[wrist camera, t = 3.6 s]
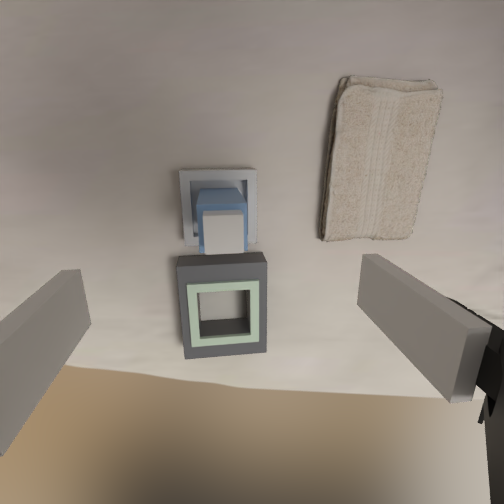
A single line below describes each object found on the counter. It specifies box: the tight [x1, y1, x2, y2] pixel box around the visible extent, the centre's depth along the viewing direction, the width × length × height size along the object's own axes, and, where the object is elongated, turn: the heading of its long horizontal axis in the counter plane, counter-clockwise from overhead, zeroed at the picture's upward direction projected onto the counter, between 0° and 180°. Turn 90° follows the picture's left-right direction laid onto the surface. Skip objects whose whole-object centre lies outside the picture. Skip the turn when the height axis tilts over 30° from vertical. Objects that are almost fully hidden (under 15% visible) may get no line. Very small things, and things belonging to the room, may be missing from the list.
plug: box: [196, 188, 248, 255], centre depth 29 cm, size 4×4×12 cm
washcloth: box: [319, 75, 443, 242], centre depth 35 cm, size 12×18×3 cm, turn 179°
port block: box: [176, 252, 267, 359], centre depth 38 cm, size 12×10×4 cm
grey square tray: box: [179, 168, 257, 246], centre depth 34 cm, size 8×8×2 cm
